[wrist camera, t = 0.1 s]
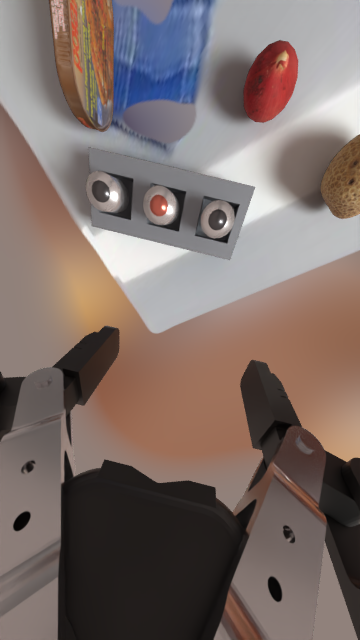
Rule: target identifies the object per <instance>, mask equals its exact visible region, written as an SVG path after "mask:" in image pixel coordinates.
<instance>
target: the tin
mask: <svg viewBox="0 0 360 640" xmlns="http://www.w3.org/2000/svg"><path fill="white" fill-rule="evenodd" d="M49 4H50V14H51V23H52V33H53V42H54V52H55V61H56V67H57V73H58V77H59V81H60V84H61V87H62V90H63V93H64V96H65V98H66V101H67V103H68V105H69V107H70V109H71V111H72V113H73V114H74V115H75V117H76V118H77V119H78V120H79V121H80V122H81V123H82V124H83V125H84V126H86V127H88V128H91V129H96V130H98V131H101V132H104V131H106V130H107V129H108V128H109V126H110V124H111V121H112V116H113V44H114V25H113V9H112V0H49Z"/></svg>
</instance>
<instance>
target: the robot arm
mask: <svg viewBox="0 0 360 640" xmlns="http://www.w3.org/2000/svg"><path fill="white" fill-rule="evenodd" d="M118 353H119V329H118V328H114V327H110V326H104V327H103V328H102V329H101V330H100V331H99V332H93V333H91V334H89V335H87V336H85V337H84V338H83V339H82V340H81V341H80V342H79V343H78V344H77V345H75V346H74V348H72V349H71V350H70V351H69V352H68V353H67V354H66V355H65V356H64V357H63V358H61V359H60V360H59V361H58V362H57V363H56V364H55V365H54V366H53V367H50V368H43V369H39V370H37V371H34V372H33V373H31V374H30V375H28V376H27V377H13V378H3V376H2V374H1V372H0V442H1V443H0V640H312V638H313V631H314V622H315V614H316V606H317V598H318V590H319V582H320V574H321V566H322V558H323V550H324V542H325V543H326V546H327V549H328V552H329V555H330V558H331V561H332V563H333V566H334V569H335V572H336V575H337V578H338V581H339V584H340V587H341V590H342V593H343V596H344V599H345V602H346V605H347V608H348V611H349V614H350V617H351V620H352V623H353V626H354V629H355V631H356V634H357V638H358V640H360V458H353V459H351V460H350V461H348V462H346V461H344V460H342V459H340V458H338V457H336V456H334V455H332V454H331V453H329V452H327V451H325V450H324V448H323V446H322V445H321V443H320V442H319V441H318V439H317V438H316V437H315V436H314V435H313V434H311V433H310V432H309V431H308V430H306V429H304V428H302V426H301V424H300V421H299V419H298V417H297V415H296V413H295V411H294V409H293V407H292V404H291V402H290V400H289V399H288V396H287V394H286V392H285V390H284V387H283V385H282V383H281V381H279V379H278V378H277V377H276V376H275V375H274V374H273V373H271V372H270V370H269V368H268V365H267V364H266V363H264V362H260V361H256V360H251V361H250V363H249V365H248V367H247V369H246V370H245V372H244V375H243V377H242V379H241V385H240V387H241V392H242V397H243V402H244V407H245V412H246V416H247V421H248V426H249V431H250V436H251V441H252V446H253V448H255V449H259V450H262V452H263V457H262V458H261V460H260V462H259V464H258V466H257V468H256V470H255V472H254V474H253V476H252V479H251V481H250V483H249V485H248V487H247V489H246V491H245V493H244V495H243V496H242V498H241V499H240V501H239V502H238V504H237V505H236V507H235V509H234V510H233V512H232V511H230V509H229V508H228V507H227V506H226V505H225V504H223V503H222V502H221V501H220V500H219V499H217V498H216V491H215V487H211V486H207V485H203V484H200V483H196V482H192V481H178V482H167V483H157V482H155V481H153V480H152V479H150V478H149V477H147V476H146V475H144V474H142V473H141V472H139V471H138V470H136V469H135V468H133V467H132V466H129V465H124V464H120V463H116V462H112V461H109V460H104V462H103V464H102V467H101V468H96V469H92V470H88V471H86V472H83V473H80V474H78V475H76V471H75V460H74V453H73V436H72V435H73V434H72V414H71V410H72V409H73V407H74V406H75V404H79V405H85V404H86V402H87V401H88V399H89V398H90V396H91V395H92V393H93V392H94V390H95V389H96V387H97V386H98V384H99V383H100V381H101V380H102V378H103V377H104V375H105V374H106V372H107V371H108V370H109V368H110V367H111V365H112V364H113V362H114V361H115V359H116V358H117V355H118Z"/></svg>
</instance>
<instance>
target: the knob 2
mask: <svg viewBox="0 0 360 640" xmlns="http://www.w3.org/2000/svg"><path fill="white" fill-rule="evenodd" d="M234 219H235V216H234V211H233V209H232V207H231V205H230V204H228V203H227V202H225V201H222V200H217V201H213V202H211V203H210V204H209V205H207V206H206V208H205V209H204V211H203V213H202V216H201V227H202V229H203V231H204V233H205V234H206V235H207V236H209V237H211V238H221V237H223V236H225V235H226V234H228V233H229V231H230V230H231V229H232V227H233V224H234Z"/></svg>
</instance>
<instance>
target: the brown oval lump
mask: <svg viewBox="0 0 360 640" xmlns="http://www.w3.org/2000/svg"><path fill="white" fill-rule="evenodd" d="M321 194H322V197H323V199H324V201H325V203H326V204H327V206H328V207H329V209H330V211H331V212H332V214H333V215H334V216H336V217H338V218H341V219H346V218H350V217H353V216H356V215H358V214H360V135H358V136H356V137H355V138H354V139H352V140H351V141H350V142H349V143H348V144H346V145H345V146H344V147H343V148H342V149H341V150H340V151H339V152H338V153H337V155H336V156H335V157H334V158H333V160H332V161H331V163H330V165H329V166H328V168H327V170H326V172H325V174H324V176H323V179H322V182H321Z"/></svg>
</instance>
